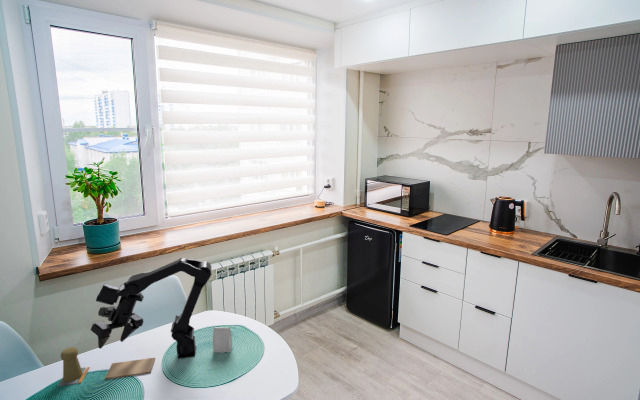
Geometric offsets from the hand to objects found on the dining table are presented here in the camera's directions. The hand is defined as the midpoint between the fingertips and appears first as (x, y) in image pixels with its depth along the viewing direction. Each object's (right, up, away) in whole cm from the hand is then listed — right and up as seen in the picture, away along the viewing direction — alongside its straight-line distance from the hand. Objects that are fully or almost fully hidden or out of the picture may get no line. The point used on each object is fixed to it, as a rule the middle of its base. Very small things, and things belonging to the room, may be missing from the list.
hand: (110, 344), depth 138 cm
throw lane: (0, -10, -2) cm, 10 cm away
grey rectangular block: (+40, -7, +11) cm, 42 cm away
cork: (-11, -10, -5) cm, 16 cm away
